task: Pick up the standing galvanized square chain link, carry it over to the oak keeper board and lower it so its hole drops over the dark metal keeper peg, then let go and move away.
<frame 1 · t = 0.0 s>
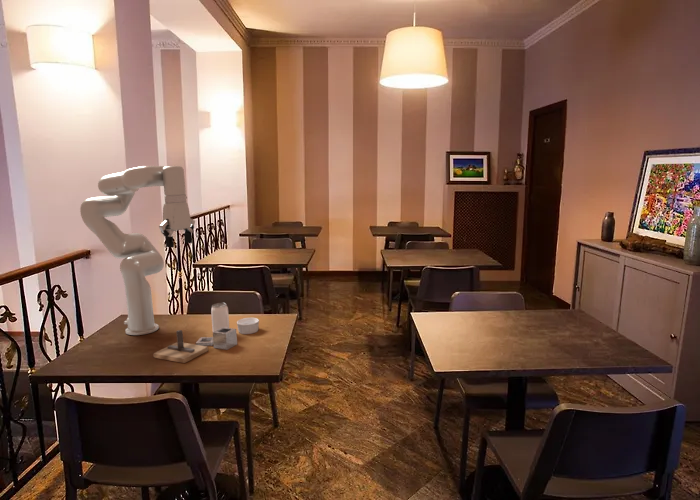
hand: (179, 245, 180), 37 cm above the table, tool pointing down, fingers open, 9 cm apart
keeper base: (181, 353, 170), on the table
link: (225, 345, 177), on the table
ramekin: (248, 331, 193), on the table
can: (221, 334, 190), on the table
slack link: (206, 342, 180), on the table
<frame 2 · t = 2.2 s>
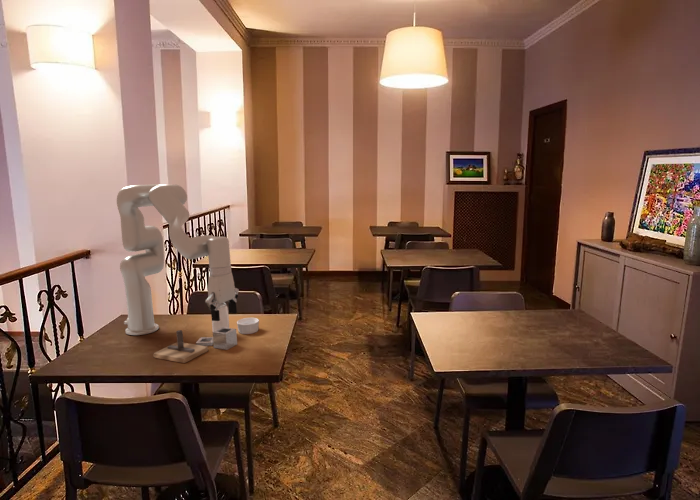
hand: (224, 316, 175), 11 cm above the table, tool pointing down, fingers open, 9 cm apart
nothing on the table moved.
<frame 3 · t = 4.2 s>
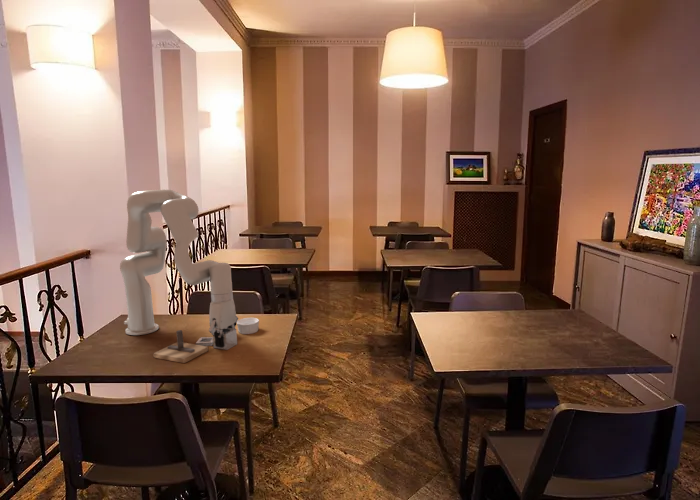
hand: (225, 343, 177), 1 cm above the table, tool pointing down, fingers closed on link, 6 cm apart
link: (225, 345, 177), on the table, touching gripper
everything else where it was.
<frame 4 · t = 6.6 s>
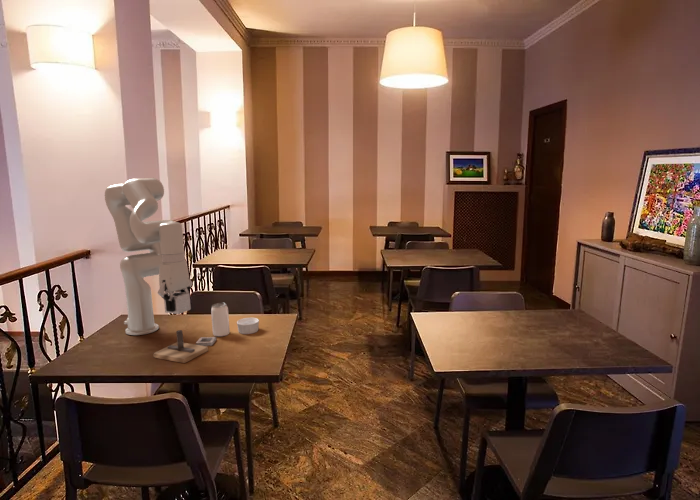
hand: (177, 308, 167), 17 cm above the table, tool pointing down, fingers closed on link, 6 cm apart
link: (178, 310, 167), point 16 cm above the table, touching gripper
everything else where it was.
when the fingers open (4 cm above the table, at t = 9.3 s): link drops 1 cm, resting on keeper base.
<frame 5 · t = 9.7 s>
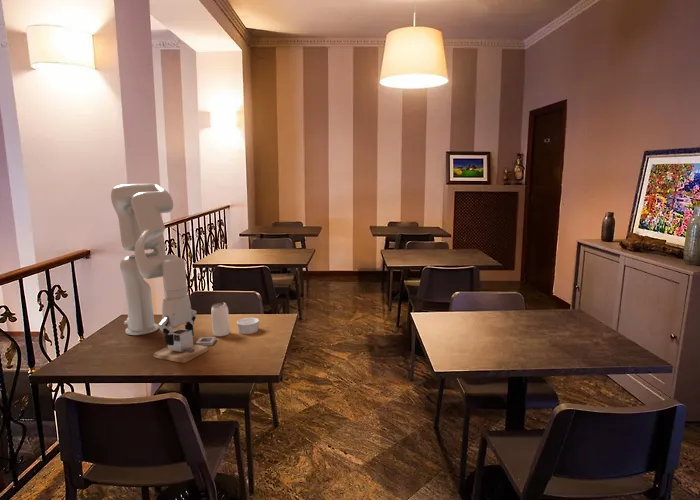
hand: (180, 340, 169), 5 cm above the table, tool pointing down, fingers open, 9 cm apart
link: (180, 347, 170), point 2 cm above the table, touching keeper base
everything else where it was.
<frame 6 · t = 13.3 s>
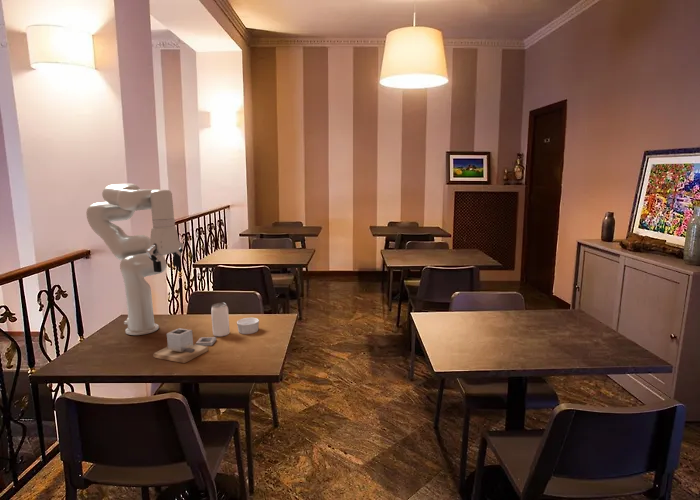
hand: (167, 269, 178), 28 cm above the table, tool pointing down, fingers open, 9 cm apart
nothing on the table moved.
at the end: link 0.0 cm off-centre on the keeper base, point 2.3 cm above the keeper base's base; link tilted 0°; the gripper is holding nothing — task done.
